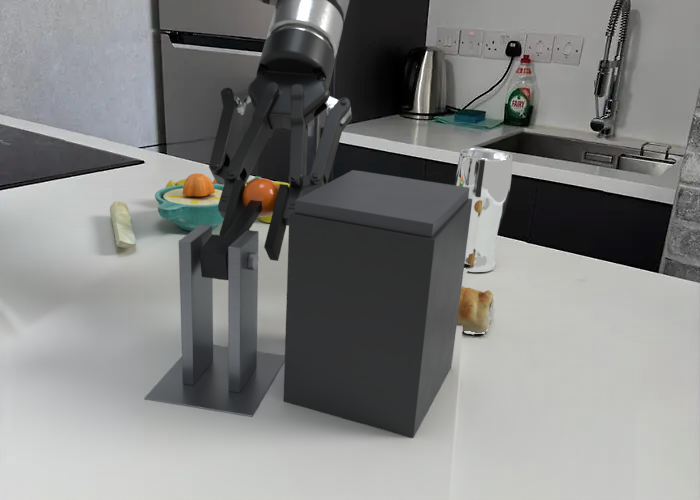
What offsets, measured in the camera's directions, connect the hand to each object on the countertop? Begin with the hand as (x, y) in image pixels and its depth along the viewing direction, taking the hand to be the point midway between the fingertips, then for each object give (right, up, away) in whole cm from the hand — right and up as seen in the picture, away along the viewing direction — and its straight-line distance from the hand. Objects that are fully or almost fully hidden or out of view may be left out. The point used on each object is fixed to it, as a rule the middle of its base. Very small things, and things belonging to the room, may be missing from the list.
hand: (248, 250), depth 62 cm
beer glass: (+25, -2, +29) cm, 38 cm away
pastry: (+21, -8, +12) cm, 25 cm away
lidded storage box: (+11, -12, -3) cm, 17 cm away
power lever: (0, +1, -1) cm, 2 cm away
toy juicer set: (-15, +4, +39) cm, 42 cm away
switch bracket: (-2, -12, -3) cm, 12 cm away
